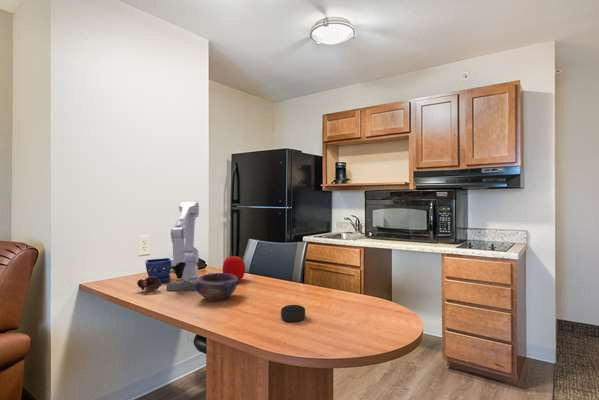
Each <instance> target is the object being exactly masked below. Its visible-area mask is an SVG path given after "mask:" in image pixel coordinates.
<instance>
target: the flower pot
mask: <svg viewBox="0 0 599 400" xmlns="http://www.w3.org/2000/svg"><path fill="white" fill-rule="evenodd" d="M171 260H172V259H171V257H166V258H165V257H162V258H153V259H152V258H151V259H145V270H146V273H147V277H151V276H154V277H158V278H159V279H160V283H166V282H170V280H171V275H170V274H171V270H172V266H171ZM157 283H158V280H157V281H155V284H157Z"/></svg>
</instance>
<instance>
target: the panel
mask: <svg viewBox="0 0 599 400" xmlns="http://www.w3.org/2000/svg"><path fill="white" fill-rule="evenodd" d="M166 291H169V292H170V291H171V292H172V291H173V292H174V291H176V292H177V291H178V292H179V291H185V292H186V291H196V290H195V288H194V284H189V281H184V283H183V284H176V282H175V280H173V281H171V282H169V283H167V284H166Z"/></svg>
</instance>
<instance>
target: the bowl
mask: <svg viewBox="0 0 599 400" xmlns="http://www.w3.org/2000/svg"><path fill="white" fill-rule="evenodd" d="M198 277H199V278H198V279H197V281H196V282H195V283H194V288H195V290H194V291H196V292H197V293H198V294H199V295H200V296H201V297H202V298H204V299H205V300H206V301H210V302H216V301H222V300H224V299H227V298H228V297H230V296H231V295H232V294H233V293H234V292H235V290H236V289H237V286H238V285H239V284H240V283H241V280H239V278H238V277H237V276H235V275H231V274H226V273H223V272H213V273H212V272H210V273H206V274H203V275H201V276H198Z"/></svg>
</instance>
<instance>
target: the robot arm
mask: <svg viewBox="0 0 599 400" xmlns="http://www.w3.org/2000/svg"><path fill="white" fill-rule="evenodd" d="M178 207H179V212H180V215H179V217H178V218H177V219H176V221H175V224H174V227H172V228H171V229H170V239H171V243H172V259H171V268H173V270H174V272H175V276H176V278H182V277H184V281H189V276H198V278H199V277H200V276H199V266H198V262H199V259H200V258H199V256H200V255H199V254H200V253H199V250H198V248H197V247H195V226H196V225H195V224H196V219H197V218H198V217H199V214H200V205H199V202H198V201H181V202H180V203H179V206H178ZM198 278H197V279H198Z"/></svg>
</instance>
